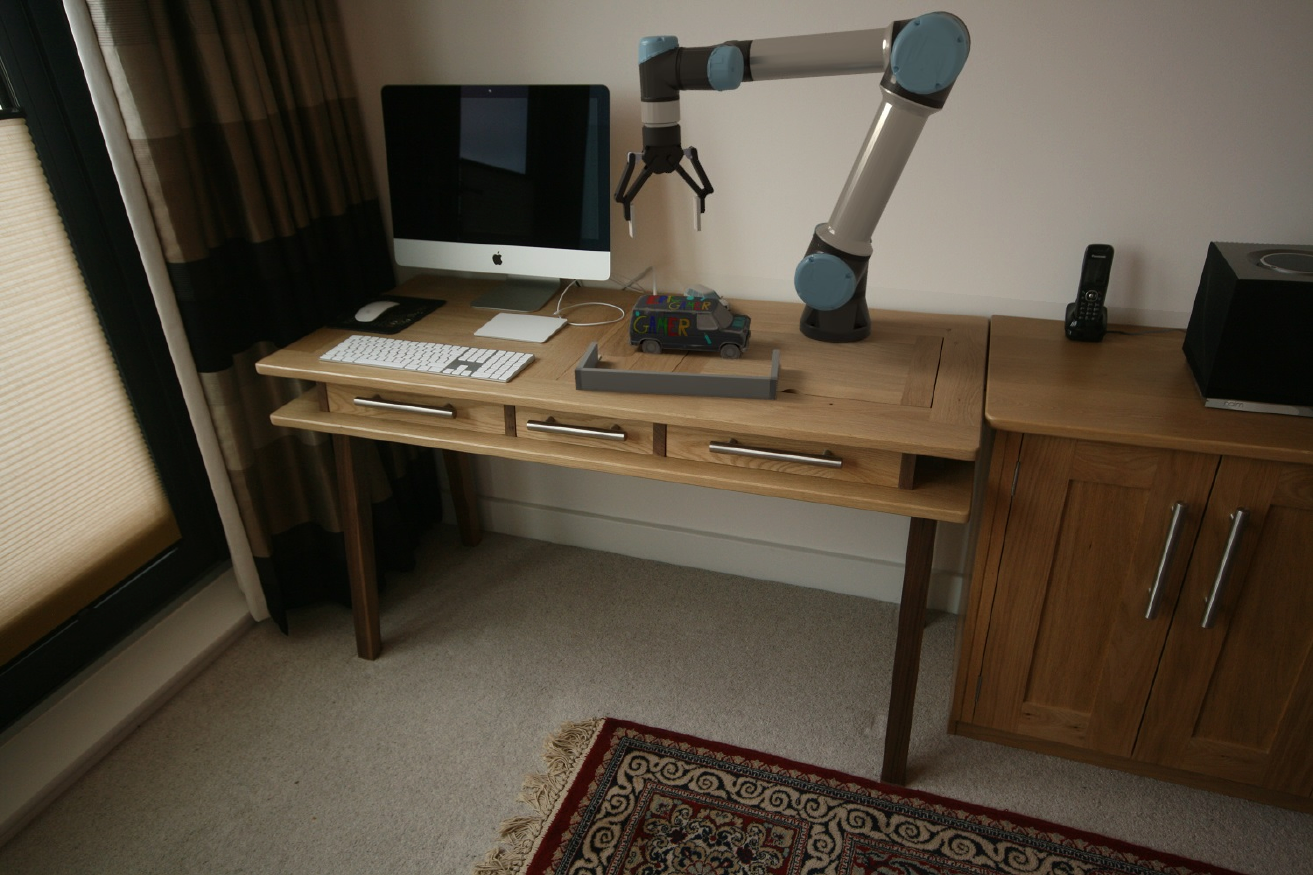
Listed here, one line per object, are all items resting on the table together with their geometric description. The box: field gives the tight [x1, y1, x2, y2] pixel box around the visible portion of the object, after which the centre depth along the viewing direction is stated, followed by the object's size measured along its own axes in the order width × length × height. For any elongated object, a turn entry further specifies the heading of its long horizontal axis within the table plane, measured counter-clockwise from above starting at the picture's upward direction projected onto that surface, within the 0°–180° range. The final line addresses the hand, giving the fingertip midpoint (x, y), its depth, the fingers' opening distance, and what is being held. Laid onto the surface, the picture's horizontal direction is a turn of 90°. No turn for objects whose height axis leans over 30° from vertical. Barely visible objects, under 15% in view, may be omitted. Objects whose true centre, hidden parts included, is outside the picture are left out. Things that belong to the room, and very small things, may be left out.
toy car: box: [683, 283, 731, 313], centre depth 200 cm, size 6×13×5 cm, turn 33°
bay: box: [574, 341, 780, 401], centre depth 167 cm, size 37×17×4 cm, turn 81°
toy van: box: [627, 294, 752, 360], centre depth 179 cm, size 11×25×10 cm, turn 78°
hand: (665, 233), depth 177 cm, fingers open, 13 cm apart
